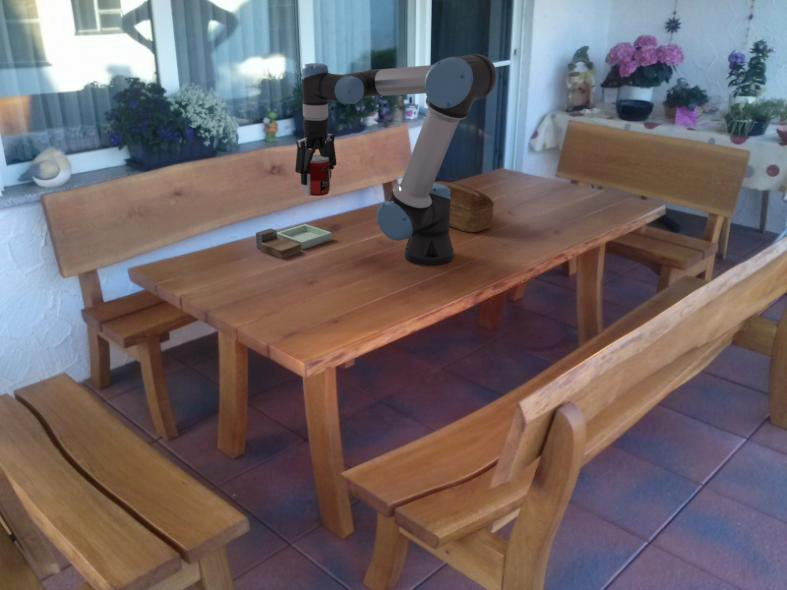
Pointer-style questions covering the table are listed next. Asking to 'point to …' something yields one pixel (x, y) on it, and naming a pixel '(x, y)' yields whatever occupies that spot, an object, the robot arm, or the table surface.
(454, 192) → the bread
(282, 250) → the tan block
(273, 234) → the bench dog
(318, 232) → the tray
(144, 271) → the table surface
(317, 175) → the canned food
